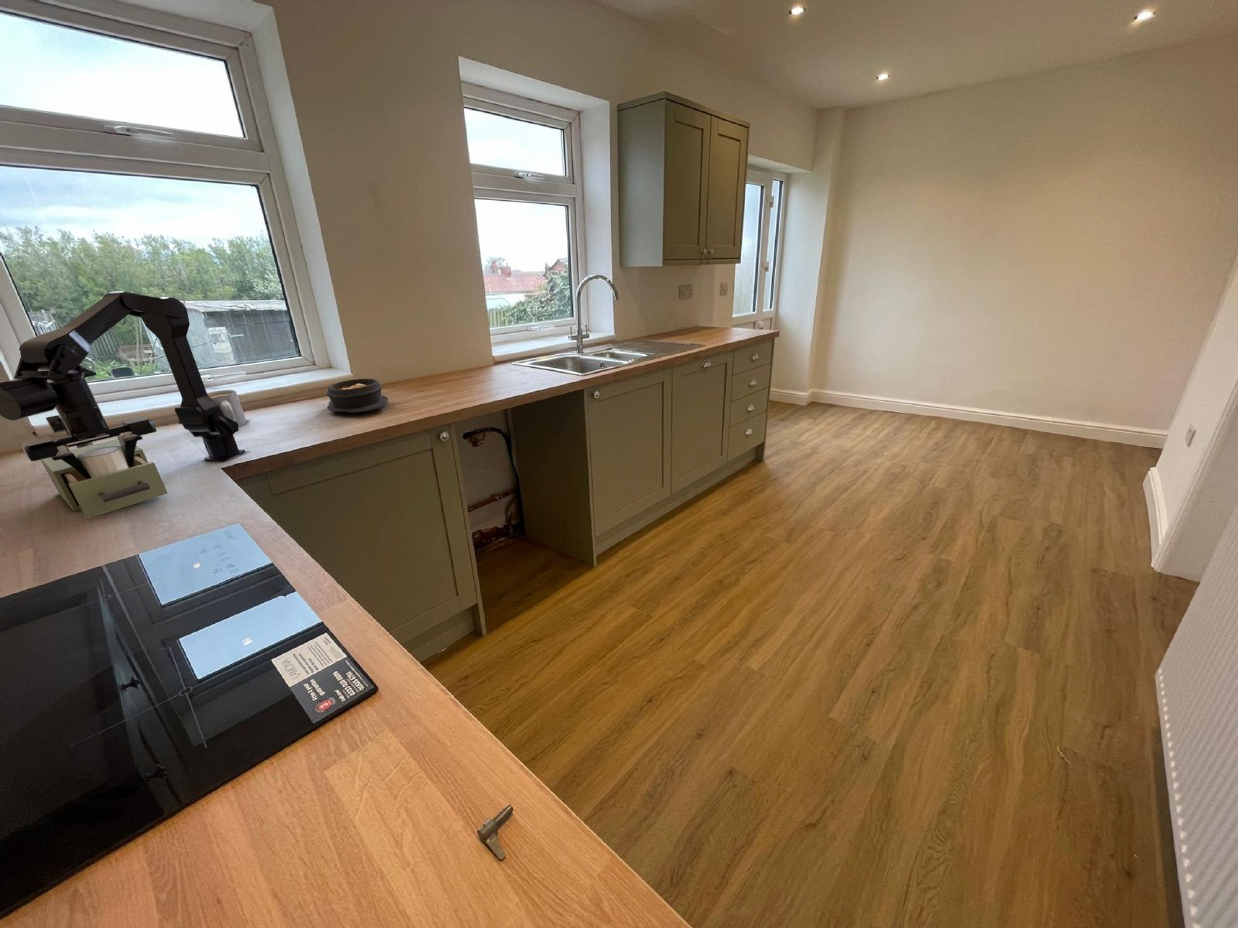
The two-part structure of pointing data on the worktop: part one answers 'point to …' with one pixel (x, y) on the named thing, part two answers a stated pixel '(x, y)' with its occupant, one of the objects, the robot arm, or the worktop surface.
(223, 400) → the coffee mug
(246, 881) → the worktop surface
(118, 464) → the white cup
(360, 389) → the casserole
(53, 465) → the cabinet
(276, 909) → the worktop surface
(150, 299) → the robot arm
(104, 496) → the drawer
